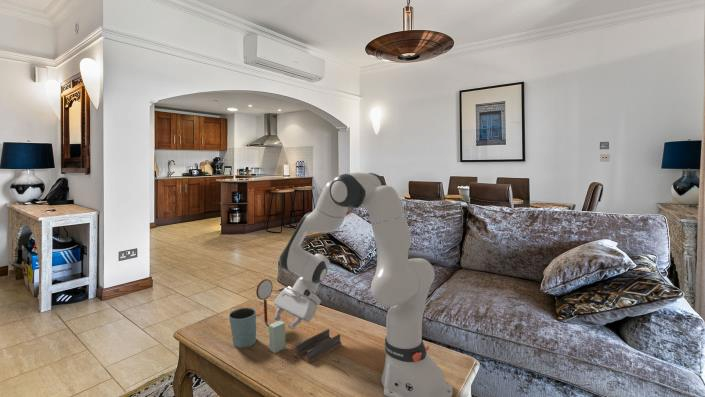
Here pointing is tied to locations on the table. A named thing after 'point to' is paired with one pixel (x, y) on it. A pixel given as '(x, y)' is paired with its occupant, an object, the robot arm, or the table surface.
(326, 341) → the track
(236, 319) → the blue-grey cylindrical cup
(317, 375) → the table surface
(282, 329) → the pale green eraser block
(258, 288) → the magnifying glass
